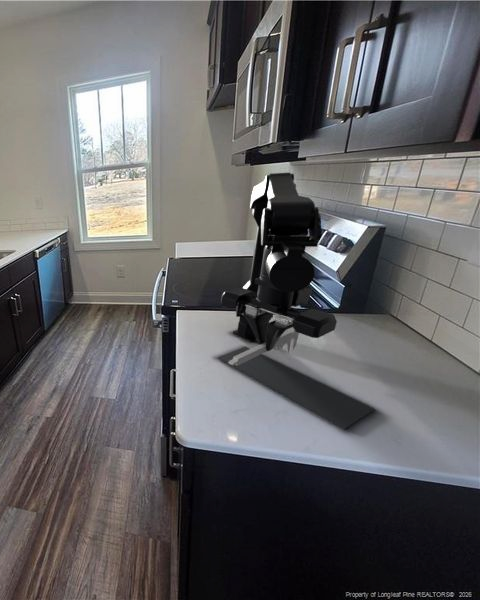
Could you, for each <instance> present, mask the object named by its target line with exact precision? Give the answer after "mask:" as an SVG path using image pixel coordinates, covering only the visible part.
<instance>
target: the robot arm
mask: <svg viewBox="0 0 480 600" xmlns="http://www.w3.org/2000/svg"><path fill="white" fill-rule="evenodd" d="M294 180H295V174H294V173H291V172H274V173H272V172H271V173H269V174H266V175H265V178H264V180H262V181H261V182H259V183H258V184H256V185H254V186H253V188H252V193H251V197H250V203H249V204H250V205H249V209H250V210H252V211H251V216H252V217H253V220H254V222H255V223H256V233H255V241H254V249H253V255H252V262H251V267H250V268H251V269H250V275H249V280H248V281H247V282H246V283H245V284H244V286H243V287H241V286H238V287H236V288H233V289H232V288H231V289H228V290H226V291H224V292H223V293H222V295H221V297H220V305H221V306H223V307H226V308H229V309H234V308H235V317H237V318H239V319H238V323H237V329H236V330H233V331H232V334H233V335H236V336H237V337H239V338H242V339H244V340H247V341H249V342H251V343H254V342H257V344H258V345H260V344H262V343H264V342H266V350H267V352H270V351H272V350H273V349H274V348H273V347H274V345H275V344H276V342H277V341H278V340H279V338H280V337H281V335H282V334H283V333H284V332H285V331H287V330H289V329H290V328H292V327H293V328H294V330H295V331H296V332H298V333H299V334H301V335H304V336H307V337H309V338H312V339H319V338H321V337H323V336H326V335H328V334H329V333H331V332H333V331H335V330H336V328H337V327H336V326H337V323H338V320H337V318H336V317H335V315H334V314H333V313H329V312H326V311H324V310H320V309H316V308H309V309H307V310H304V311H301V310H298V309H295V308H296V307H299V306H300V304H302V305H304V306H307V305H308V303H309V299H310V297H311V296H312V293H313V289H312V288H309V285H310V284H311V283H312V282H313V280H314V278H315V268H314V265H313V264H312V262H311V260H310V259H308V257H307V256H306V255H305V252H306V247H307V248H309V247H310V248H318V244H319V241H320V240H321V239H322V237H323V233H322V216H321V215H322V214H321V213H320V212H319V210H320V209H319V207H318V206H317V207H316V205H315V201H313V200H312V199H311V198H310V197H308V196H302V195H299V192H298V190H297V184H296V183H295V182H294ZM292 307H294V308H292ZM274 316H275V317H274ZM273 318H275V319H274V320H272V319H273ZM271 320H272V321H271ZM272 348H273V349H272Z"/></svg>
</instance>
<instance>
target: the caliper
mask: <svg viewBox="0 0 480 600" xmlns="http://www.w3.org/2000/svg"><path fill="white" fill-rule="evenodd" d="M299 334H300V333H298V332H296V331H295V330H294V328H293V327H292V328H290V329H287V330H286V331H285V332H284V333H283V334H282V335H281V337H280V338H279V340H278V341H277V342H276V344H275V345H274V347H273V348H272V349H271V350H273V349H276V350H279V349H280V348H282V350H283V351H284V352H286V353H290V350H291V351H294V350H295V348H296V345H297V341H298V339H299ZM267 352H268V351H267V350H266V342H264V343H262V344H260V345H259V344H258V345H256V346H254V347H251V348H249V350H247V351H245V352H243V353H241V354H238V355H236V356H234V357H233V359H232V360H230V361H229V362H228V363H229V364H231V365H240V364H242V363H244V362H246V361H248V360H250V359H252V358H254V357H256V356H258V355H260V354H262V355H263V354H264V353H267ZM229 364H228V365H229Z"/></svg>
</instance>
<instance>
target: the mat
mask: <svg viewBox="0 0 480 600" xmlns="http://www.w3.org/2000/svg"><path fill="white" fill-rule="evenodd" d="M249 349H250V347H247V346H243V347H241V348H237V349H235V350H233V351H230V352H227V353H225V354H221V355H219V356H218V357H217V359H218V360H220V361H221V362H223V363H225V364H227V365H229V366H231V367H232V368H234V369H236V370H237V371H240V372H241V373H243V374H244V375H246V376H248V377H250V378H252V379H254V380H256V381H257V382H259V383H261V384H263V385H264V386H266V387H268V388H269V389H271V390H273V391H275V392H277V393H278V394H280V395H282V396H284V397H286V398H287V399H289V400H290V401H291V400H292V401H293V402H294V403H297V404H298V405H300V406H301V407H303V408H305V409H306V410H309V411H311V412H312V413H314V414H316V415H318V416H319V417H321V418H323V419H325V420H327V421H328V422H330V423H332V424H333V425H336V426H337V427H339V428H341V429H342V430H343V431H345V430H347V429H349V428H350V427H352V426H353V425H355V424H356V423H358V422H359V421H361V420H362V419H364V418H365V417H367V416H369V415H370V414H372V413H373V412H374V411H375V410H376V408H374V407H372V406H370V405H368V404H366V403H364V402H362V401H361V400H357V399H355V398H354V397H351V396H350V395H347V394H345V393H343V392H341V391H339V390H336V389H335V388H333V387H330V386H329V385H326V384H324V383H322V382H320V381H319V380H316V379H314V378H311V377H310V376H307V375H306V374H303V373H301V372H299V371H298V370H295V369H293V368H290V367H288V366H287V365H285V364H284V363H283V364H282V363H280V362H279V361H276V360H274V359H272V358H270V357H268V356H267V355H264V354H263V353H262V354H260V355H258V356H256V357H254V358H252V359H250V360H248V361H246V362H244V363H242V364H240V365H231V364H229V363H228V362H229V361H230V360H232V359H233V357H234V356H236V355H238V354H241V353H243V352H245V351H247V350H249Z"/></svg>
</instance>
